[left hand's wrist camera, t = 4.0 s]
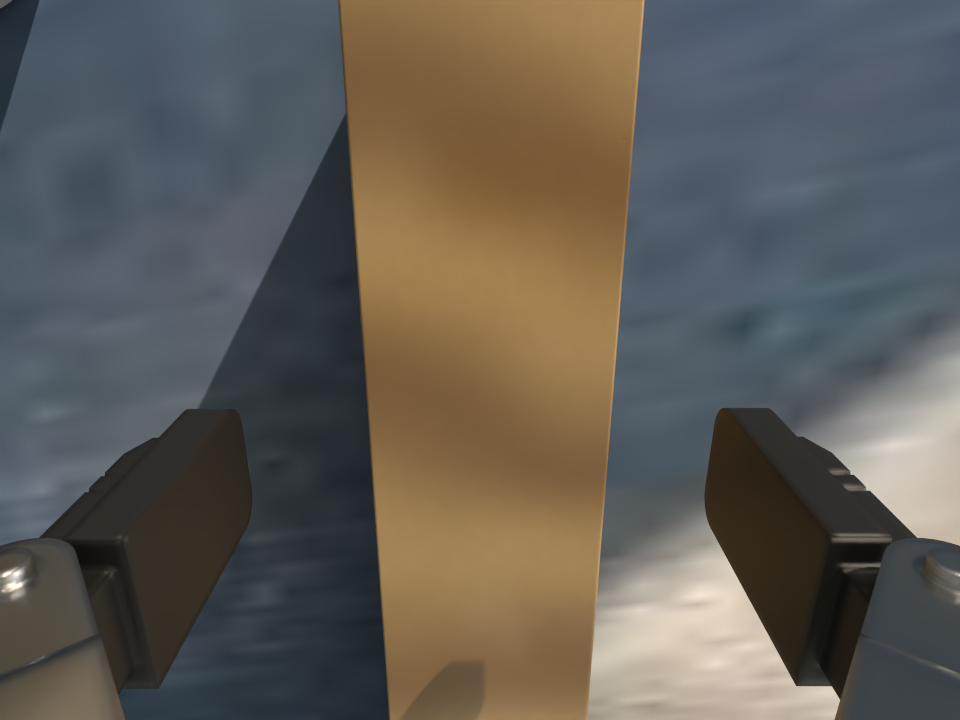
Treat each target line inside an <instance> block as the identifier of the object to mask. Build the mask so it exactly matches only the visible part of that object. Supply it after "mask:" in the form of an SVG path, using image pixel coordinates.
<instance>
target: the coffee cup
mask: <svg viewBox="0 0 960 720" xmlns="http://www.w3.org/2000/svg"><path fill="white" fill-rule="evenodd" d="M11 1H12V0H0V8H2V7H4V6H5V5H7V4H8V3H10V2H11Z"/></svg>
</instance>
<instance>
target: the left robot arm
mask: <svg viewBox="0 0 960 720" xmlns="http://www.w3.org/2000/svg"><path fill="white" fill-rule="evenodd" d="M251 507H252V491H251V483H250V477H249V470H248V463H247V456H246V450H245V443H244V436H243V430H242V424H241V419H240V417H239V414H238V413H237V411H236V410H234V409H187V410H185V411H184V412H183V413H182V414H181V415H180V416H179V417H178V418H177V419H176V420H175V421H174V422H173V423H172V424H171V425H170V426H169V428H168V429H167V430H166V431H165V432H164V433H163V434H162V435H161V436H160V437H159V438H152V439H150V440H148V441H146V442H145V443H143V444H141V445H139V446H137V447H136V448H134V449H132V450H130V451H128V452H127V453H125V454H123V455H122V456H121V457H120V458H119V459H118V460H117V461H116V462H115V463H114V464H113V465H112V466H111V467H110V468H109V469H108V470H107V471H106V472H105V476H101V477H100V478H99V479H98V480H97V481H96V482H95V483H94V484H93V485H92V486H91V487H90V488H89V492H85V493H84V494H83V495H82V496H81V497H80V498H79V499H78V500H77V501H76V502H75V503H74V504H73V505H72V506H71V507H70V508H69V509H68V510H67V511H66V512H65V513H64V514H63V515H62V516H61V517H60V518H59V519H58V520H57V521H56V522H55V523H54V524H53V525H52V526H51V527H50V528H49V529H48V530H46V531H45V532H44V533H43V534H42V535H41V536H40V537H39V538H34V539H26V540H21V541H16V542H12V543H8V544H5V545H2V546H0V720H125V717H124V714H123V710H122V707H121V703H120V700H119V696H118V695H119V693H120V692H121V690H122V688H159V687H160V685H161V683H162V681H163V679H164V677H165V676H166V674H167V672H168V670H169V668H170V667H171V665H172V663H173V661H174V659H175V657H176V656H177V654H178V652H179V650H180V648H181V646H182V645H183V643H184V641H185V639H186V637H187V636H188V634H189V632H190V630H191V628H192V626H193V625H194V623H195V621H196V619H197V617H198V615H199V614H200V612H201V610H202V608H203V606H204V604H205V603H206V601H207V599H208V597H209V595H210V594H211V592H212V590H213V588H214V586H215V584H216V583H217V581H218V579H219V577H220V575H221V573H222V572H223V570H224V568H225V566H226V564H227V563H228V561H229V559H230V557H231V555H232V553H233V552H234V550H235V548H236V546H237V544H238V542H239V541H240V539H241V537H242V535H243V533H244V532H245V530H246V528H247V525H248V522H249V519H250V514H251ZM705 509H706V515H707V519H708V522H709V525H710V527H711V529H712V531H713V533H714V535H715V537H716V539H717V541H718V542H719V544H720V546H721V548H722V550H723V552H724V553H725V555H726V557H727V559H728V561H729V563H730V565H731V566H732V568H733V570H734V572H735V574H736V576H737V577H738V579H739V581H740V583H741V585H742V587H743V589H744V590H745V592H746V594H747V596H748V598H749V600H750V601H751V603H752V605H753V607H754V609H755V611H756V613H757V614H758V616H759V618H760V620H761V622H762V624H763V625H764V627H765V629H766V631H767V633H768V635H769V637H770V638H771V640H772V642H773V644H774V646H775V648H776V649H777V651H778V653H779V655H780V657H781V659H782V661H783V662H784V664H785V666H786V668H787V670H788V672H789V673H790V675H791V677H792V679H793V681H794V683H795V685H796V686H832V687H833V689H834V690H835V692H836V694H837V695H838V697H839V699H840V703H839V707H838V710H837V714H836V717H835V720H960V546H958V545H955V544H952V543H948V542H944V541H939V540H934V539H926V538H917V537H916V536H915V535H914V534H913V533H912V532H911V531H910V530H909V529H908V528H907V527H906V526H905V525H904V524H903V523H902V522H901V521H900V520H899V519H898V518H897V517H896V516H895V515H894V514H893V513H892V512H891V511H890V510H889V509H888V508H887V507H886V506H885V505H884V504H883V503H882V502H881V501H880V500H879V499H878V498H877V497H876V496H875V495H874V494H873V493H872V492H870V491H866V487H865V486H864V485H863V484H862V483H861V482H860V481H859V480H858V479H857V478H856V477H855V476H854V475H850V471H849V470H848V469H847V468H846V467H845V466H844V465H843V464H842V463H841V462H840V461H839V460H838V459H837V458H836V457H835V456H834V455H833V454H832V453H831V452H829V451H828V450H826V449H824V448H822V447H820V446H819V445H817V444H815V443H813V442H811V441H810V440H808V439H806V438H804V437H797V436H796V435H795V434H794V433H793V432H792V431H791V430H790V429H789V428H788V427H787V426H786V425H785V424H784V423H783V421H782V420H781V419H780V418H779V417H778V416H777V415H776V414H775V413H774V412H773V411H772V410H771V409H769V408H722V409H721V410H720V411H719V412H718V414H717V416H716V420H715V425H714V431H713V438H712V445H711V452H710V459H709V465H708V472H707V479H706V486H705Z"/></svg>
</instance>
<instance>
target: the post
mask: <svg viewBox="0 0 960 720" xmlns="http://www.w3.org/2000/svg"><path fill="white" fill-rule="evenodd" d="M644 1H645V0H338V5H339V19H340V33H341V47H342V61H343V75H344V89H345V103H346V117H347V131H348V145H349V159H350V173H351V188H352V202H353V216H354V230H355V244H356V258H357V272H358V286H359V300H360V314H361V328H362V342H363V356H364V370H365V384H366V399H367V413H368V427H369V441H370V455H371V469H372V483H373V497H374V511H375V525H376V539H377V553H378V567H379V581H380V595H381V609H382V624H383V638H384V652H385V666H386V680H387V694H388V708H389V720H587V712H588V699H589V687H590V674H591V662H592V649H593V637H594V624H595V612H596V599H597V587H598V575H599V562H600V550H601V537H602V525H603V512H604V500H605V487H606V475H607V462H608V450H609V437H610V425H611V413H612V400H613V388H614V375H615V363H616V350H617V338H618V325H619V313H620V300H621V288H622V275H623V263H624V251H625V238H626V226H627V213H628V201H629V188H630V176H631V163H632V151H633V138H634V126H635V113H636V101H637V88H638V76H639V64H640V51H641V39H642V26H643V14H644Z"/></svg>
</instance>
